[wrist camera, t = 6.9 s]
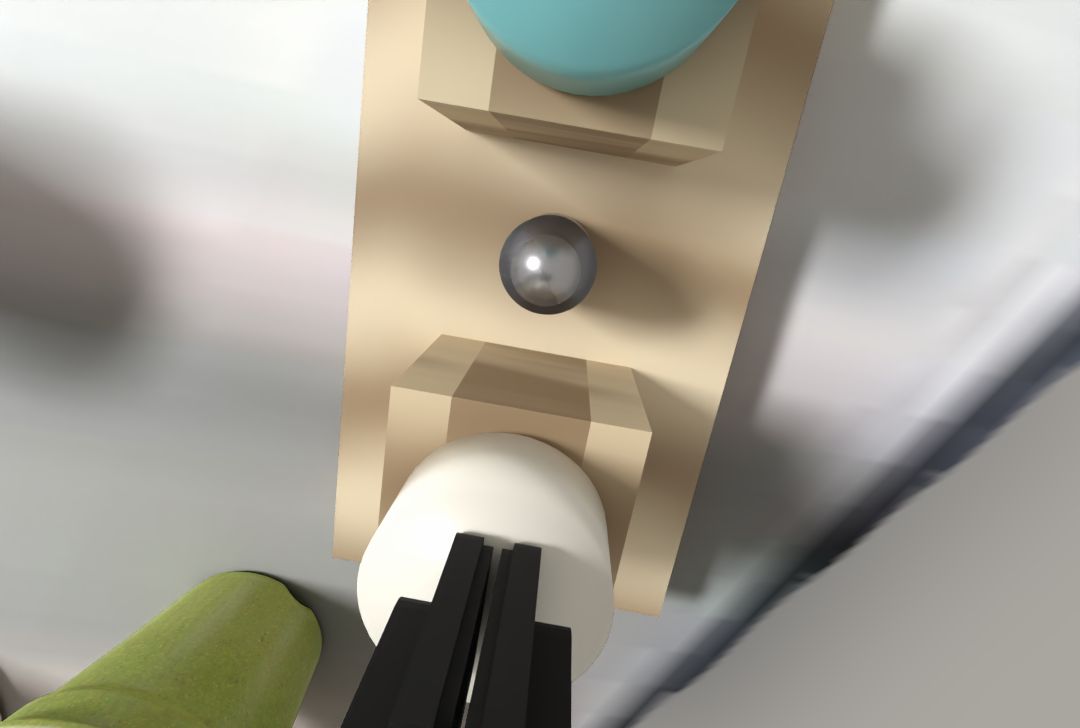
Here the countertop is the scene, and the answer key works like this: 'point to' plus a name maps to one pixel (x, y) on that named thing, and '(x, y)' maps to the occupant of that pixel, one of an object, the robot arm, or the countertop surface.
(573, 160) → the mount
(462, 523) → the ivory knob
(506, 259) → the grey metal peg
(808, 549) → the countertop surface
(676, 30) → the teal knob
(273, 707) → the plant pot
